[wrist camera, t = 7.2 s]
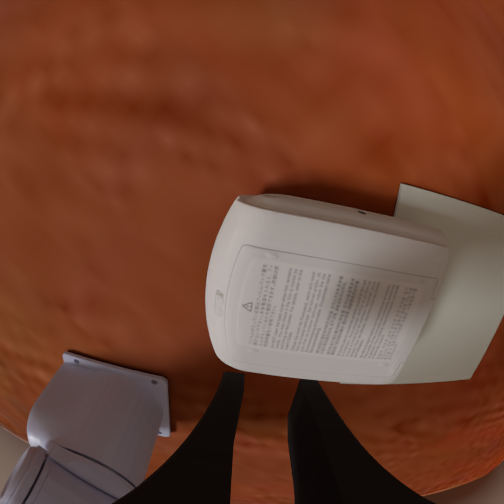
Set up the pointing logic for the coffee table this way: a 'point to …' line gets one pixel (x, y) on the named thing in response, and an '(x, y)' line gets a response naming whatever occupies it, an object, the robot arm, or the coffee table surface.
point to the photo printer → (320, 289)
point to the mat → (456, 287)
